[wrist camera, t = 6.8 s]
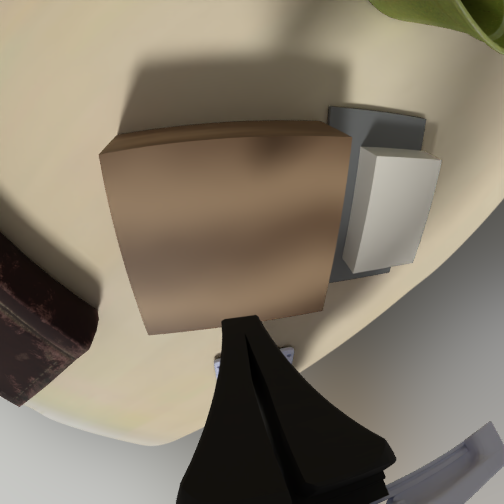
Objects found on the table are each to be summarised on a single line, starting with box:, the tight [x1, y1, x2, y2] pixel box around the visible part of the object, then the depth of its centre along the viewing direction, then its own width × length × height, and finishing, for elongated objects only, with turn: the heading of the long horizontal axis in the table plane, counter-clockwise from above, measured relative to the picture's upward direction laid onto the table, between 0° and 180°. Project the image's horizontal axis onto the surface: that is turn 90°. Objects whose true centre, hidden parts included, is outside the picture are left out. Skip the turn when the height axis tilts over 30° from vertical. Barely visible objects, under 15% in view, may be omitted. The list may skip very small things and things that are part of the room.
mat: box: [328, 106, 426, 283], centre depth 21 cm, size 14×8×1 cm, turn 0°
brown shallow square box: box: [99, 120, 352, 335], centre depth 18 cm, size 12×12×4 cm
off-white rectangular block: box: [342, 147, 442, 274], centre depth 20 cm, size 9×6×2 cm, turn 0°
